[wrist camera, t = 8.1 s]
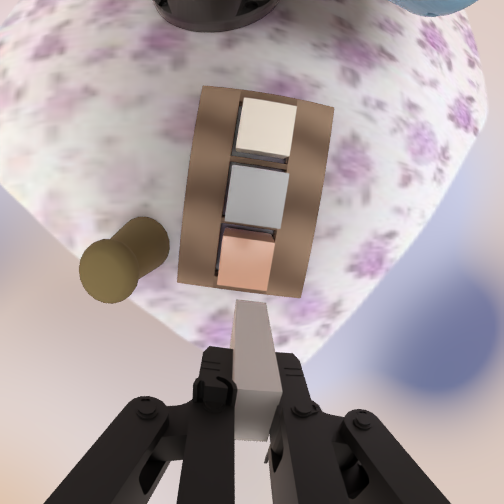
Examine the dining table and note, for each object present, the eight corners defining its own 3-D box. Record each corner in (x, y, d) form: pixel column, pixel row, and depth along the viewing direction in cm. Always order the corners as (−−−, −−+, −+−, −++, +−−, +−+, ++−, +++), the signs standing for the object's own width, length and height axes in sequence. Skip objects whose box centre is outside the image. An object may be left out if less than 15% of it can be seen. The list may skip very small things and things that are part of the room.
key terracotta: (225, 227, 28) (223, 235, 24) (270, 233, 29) (275, 243, 25) (219, 270, 29) (216, 284, 26) (263, 276, 30) (266, 291, 26)
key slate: (233, 166, 25) (232, 164, 22) (282, 173, 26) (289, 173, 22) (226, 214, 27) (224, 221, 23) (274, 221, 27) (280, 229, 23)
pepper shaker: (173, 221, 29) (138, 247, 19) (166, 275, 31) (134, 322, 20) (121, 212, 29) (68, 232, 18) (117, 264, 30) (69, 304, 20)
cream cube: (243, 107, 25) (244, 97, 21) (289, 115, 26) (296, 106, 22) (236, 151, 26) (235, 147, 23) (282, 158, 27) (289, 156, 23)
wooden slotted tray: (205, 91, 26) (202, 85, 24) (328, 111, 27) (334, 107, 25) (180, 275, 31) (177, 282, 29) (297, 291, 32) (300, 298, 30)
